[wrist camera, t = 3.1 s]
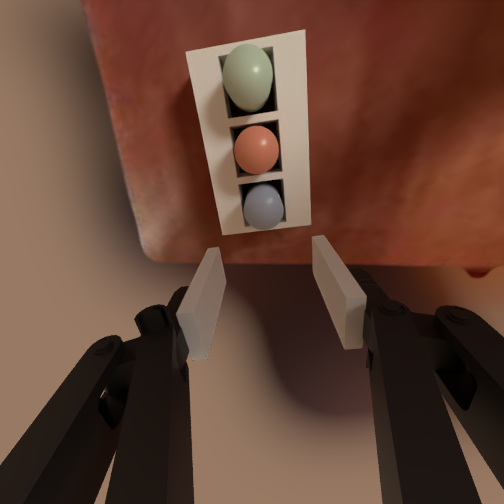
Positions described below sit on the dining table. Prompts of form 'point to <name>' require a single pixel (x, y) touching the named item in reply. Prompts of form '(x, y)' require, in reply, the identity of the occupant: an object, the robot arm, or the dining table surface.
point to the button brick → (256, 150)
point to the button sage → (248, 77)
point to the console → (285, 116)
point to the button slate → (263, 206)
